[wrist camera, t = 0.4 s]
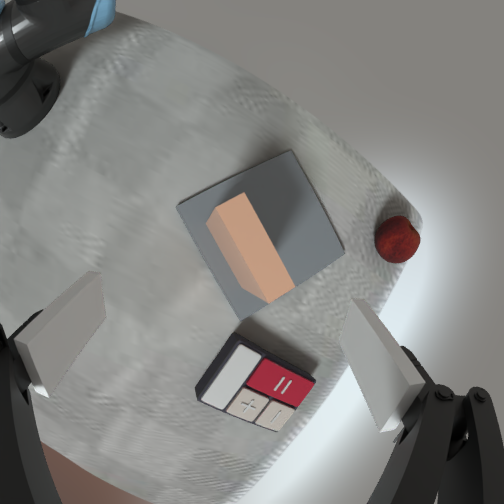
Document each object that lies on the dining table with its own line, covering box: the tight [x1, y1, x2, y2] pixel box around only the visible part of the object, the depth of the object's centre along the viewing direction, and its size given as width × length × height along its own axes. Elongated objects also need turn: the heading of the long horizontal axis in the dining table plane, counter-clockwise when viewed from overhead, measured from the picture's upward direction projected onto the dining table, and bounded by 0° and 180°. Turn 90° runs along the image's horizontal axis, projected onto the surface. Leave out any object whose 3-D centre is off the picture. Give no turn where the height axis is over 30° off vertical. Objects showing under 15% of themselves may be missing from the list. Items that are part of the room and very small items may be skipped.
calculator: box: [195, 333, 316, 432], centre depth 38 cm, size 11×4×15 cm
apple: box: [374, 216, 420, 263], centre depth 41 cm, size 7×8×8 cm
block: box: [206, 193, 295, 303], centre depth 32 cm, size 10×3×13 cm, turn 29°
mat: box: [176, 150, 345, 321], centre depth 40 cm, size 18×19×1 cm
